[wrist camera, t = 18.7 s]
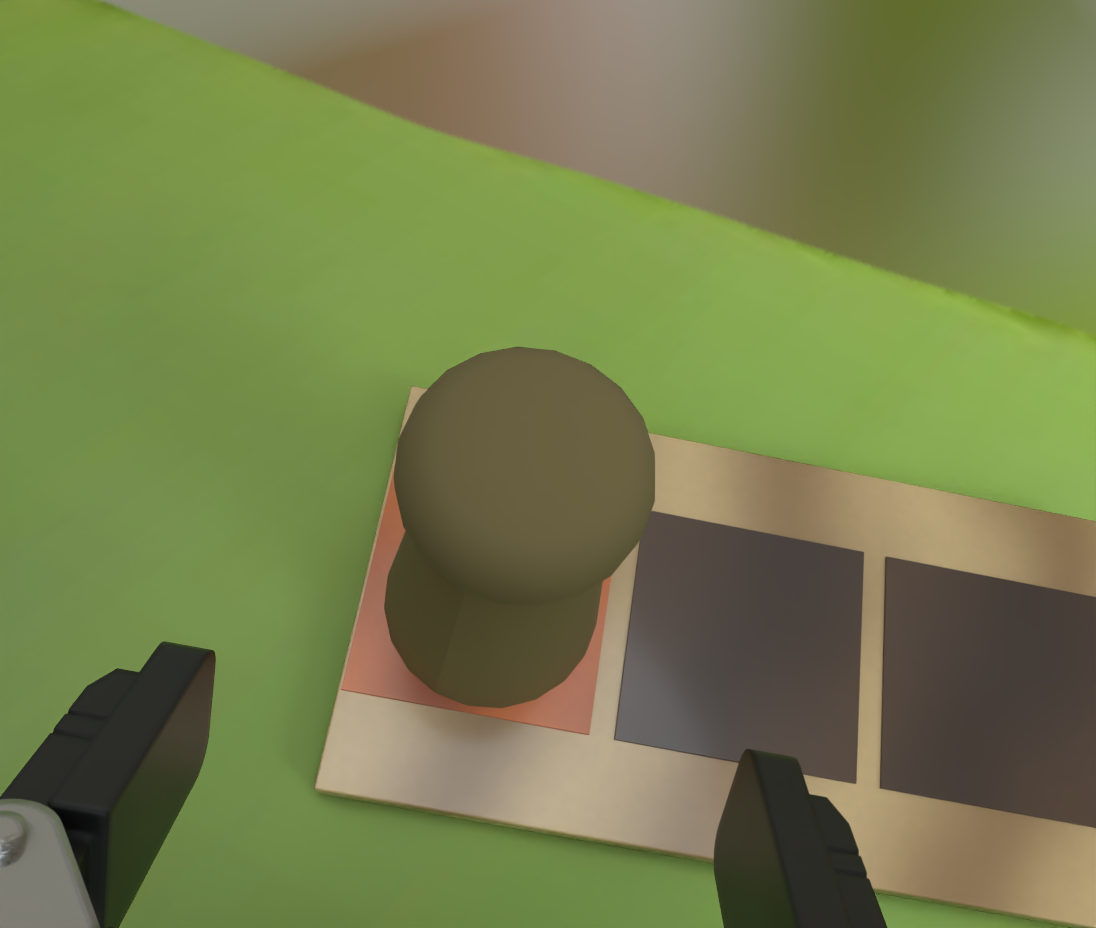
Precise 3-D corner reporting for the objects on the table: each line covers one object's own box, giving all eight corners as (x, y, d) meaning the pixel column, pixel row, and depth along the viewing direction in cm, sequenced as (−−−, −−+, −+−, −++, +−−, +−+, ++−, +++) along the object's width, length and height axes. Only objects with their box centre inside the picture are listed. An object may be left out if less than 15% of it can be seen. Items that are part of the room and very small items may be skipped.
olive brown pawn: (502, 461, 31) (547, 245, 20) (641, 611, 29) (761, 460, 19) (339, 587, 28) (299, 416, 18) (481, 756, 27) (521, 670, 17)
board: (317, 793, 28) (313, 788, 26) (410, 402, 32) (411, 383, 31) (1097, 932, 29) (1127, 933, 27) (1075, 533, 33) (1099, 520, 32)
